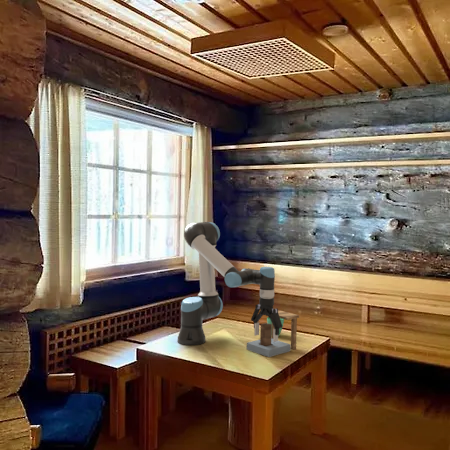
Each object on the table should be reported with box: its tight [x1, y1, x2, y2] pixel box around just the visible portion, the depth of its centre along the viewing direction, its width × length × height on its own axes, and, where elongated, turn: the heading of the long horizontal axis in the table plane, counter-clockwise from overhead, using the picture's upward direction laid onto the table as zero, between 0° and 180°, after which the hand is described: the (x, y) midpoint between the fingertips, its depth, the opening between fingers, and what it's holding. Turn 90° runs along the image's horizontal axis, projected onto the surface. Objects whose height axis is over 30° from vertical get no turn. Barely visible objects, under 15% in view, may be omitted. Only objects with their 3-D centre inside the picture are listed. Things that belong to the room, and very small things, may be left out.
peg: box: [259, 322, 272, 346], centre depth 255 cm, size 4×4×14 cm
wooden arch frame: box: [271, 309, 300, 351], centre depth 262 cm, size 18×9×18 cm, turn 41°
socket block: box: [246, 338, 291, 358], centre depth 257 cm, size 16×16×4 cm
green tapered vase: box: [266, 316, 285, 337], centre depth 287 cm, size 15×10×10 cm
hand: (265, 338), depth 255 cm, fingers open, 13 cm apart
